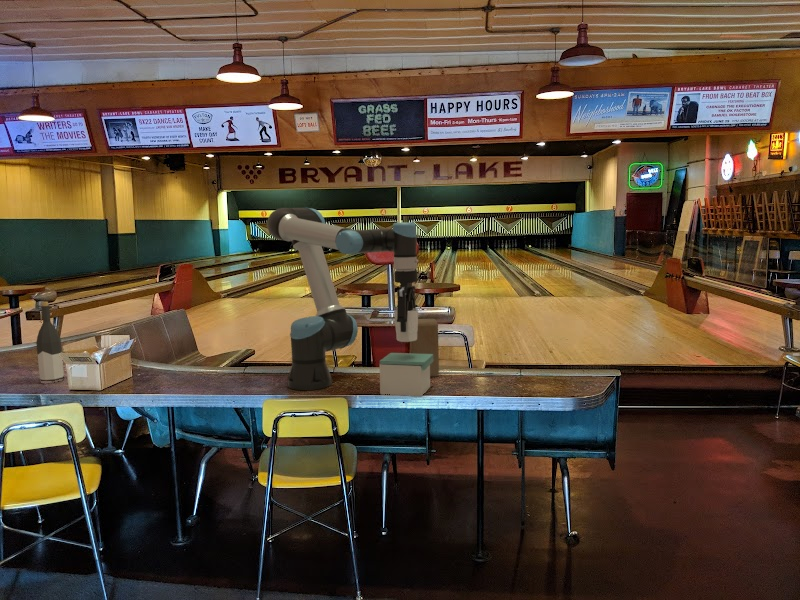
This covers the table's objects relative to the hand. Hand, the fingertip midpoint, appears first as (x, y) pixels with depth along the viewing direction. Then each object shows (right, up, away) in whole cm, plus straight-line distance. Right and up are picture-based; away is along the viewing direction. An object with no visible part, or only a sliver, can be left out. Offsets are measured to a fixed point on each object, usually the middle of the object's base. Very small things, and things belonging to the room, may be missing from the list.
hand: (407, 339), depth 208 cm
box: (-1, -17, +3) cm, 17 cm away
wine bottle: (-133, -18, +28) cm, 137 cm away
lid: (0, -9, +1) cm, 9 cm away
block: (+7, -15, +24) cm, 29 cm away
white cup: (0, 0, 0) cm, 1 cm away
